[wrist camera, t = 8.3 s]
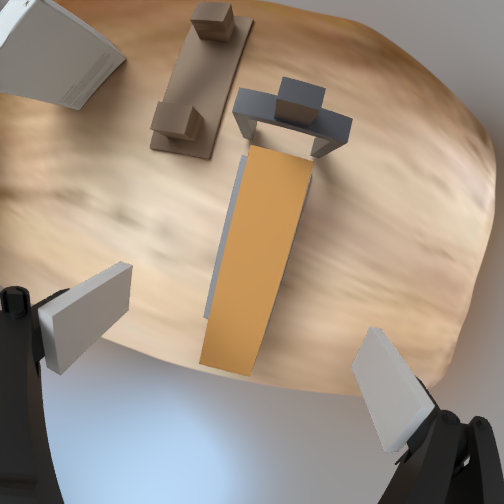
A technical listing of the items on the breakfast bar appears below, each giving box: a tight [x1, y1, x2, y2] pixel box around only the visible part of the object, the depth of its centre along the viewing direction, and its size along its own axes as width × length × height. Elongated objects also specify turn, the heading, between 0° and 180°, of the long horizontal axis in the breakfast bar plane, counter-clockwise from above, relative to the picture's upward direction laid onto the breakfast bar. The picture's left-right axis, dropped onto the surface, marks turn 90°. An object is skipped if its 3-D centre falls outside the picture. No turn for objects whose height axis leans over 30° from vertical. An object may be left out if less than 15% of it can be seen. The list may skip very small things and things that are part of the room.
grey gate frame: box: [232, 77, 353, 158], centre depth 17 cm, size 7×2×12 cm, turn 76°
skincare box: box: [0, 0, 126, 110], centre depth 14 cm, size 8×7×16 cm
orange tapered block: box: [199, 145, 314, 376], centre depth 20 cm, size 4×16×4 cm, turn 166°
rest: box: [149, 2, 253, 159], centre depth 20 cm, size 6×16×4 cm, turn 166°
